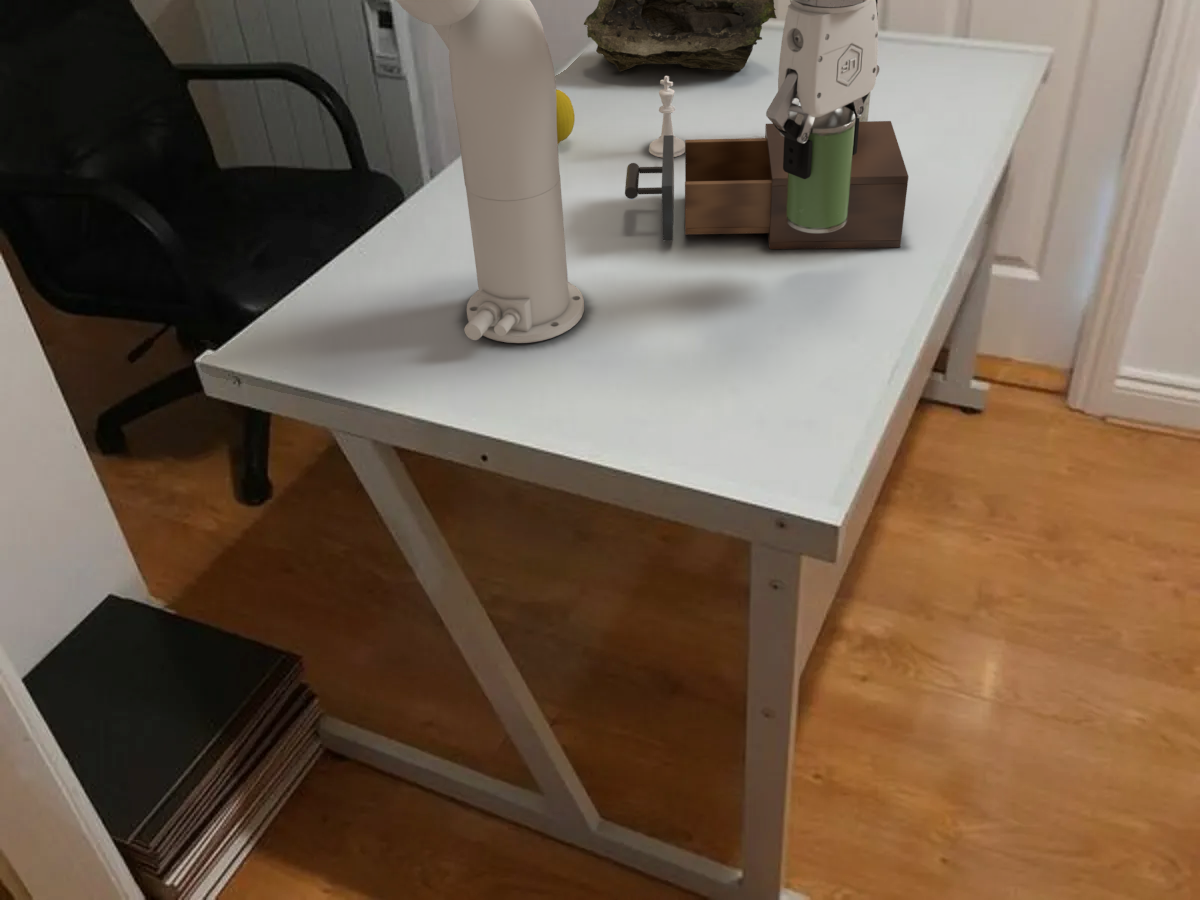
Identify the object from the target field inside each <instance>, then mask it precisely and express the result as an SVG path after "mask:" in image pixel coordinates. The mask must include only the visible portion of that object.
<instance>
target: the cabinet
mask: <svg viewBox="0 0 1200 900" xmlns="http://www.w3.org/2000/svg"><path fill="white" fill-rule="evenodd" d="M764 129H765V131H764V138H766V140H767V148H768V157H769V165H770V173H771V182H772V183H771V206H770V229H769V233H767V241H768V249H769V250H804V249H805V250H807V249H810V250H811V249H812V250H813V249H816V250H817V249H873V248H874V249H877V248H878V249H879V248H880V249H881V248H882V249H883V248H884V249H886V248H901V244H902V236H903V228H904V227H903V226H904V219H905V211H906V210H905V209H906V201H907V192H908V183H909V174H908V170H907V167H906V164H905V161H904V157H903V155H902V151H901V149H900V145H899V142H898V138H897V135H896V133H895V130H894V126H893V123H892V121H891V120H877V121H875V120H873V121H869V120H868V121H867V122H859V131H858V144H857V153H856V154H855V155H853V156H852V167H851V180H850V192H849V205H848V217H847V222H846V224H845V225H844V226H843V227H842V228H840V229H838V230H836V231H833V232H829V233H807V232H802V231H799V230H796V229H794V228H793V227H791V226H790V225H789V224H788V223H787V221H786V206H787V184H788V173H787V172H785V171H784V170H783V155H784V137H783V136H781V135H780V131H779V130H778V129H777V128H776V127H775V125H774V124H773V123H765V127H764Z"/></svg>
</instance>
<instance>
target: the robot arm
mask: <svg viewBox="0 0 1200 900" xmlns="http://www.w3.org/2000/svg"><path fill="white" fill-rule="evenodd" d="M395 1H396V2H397V3H398V4H399V6H400V7H401V8H402V9H403V10H404V11H405V12H407V13H408V14H409V15H410V16H411V17H413V18H415V19H417V20H419V21H420V22H421V23H425V24H428V25H431V26H432V27H433V29H434V30H435V32H436V33H437V34H438V36H439V37H440V38H441V40H442V41H443V43H444V44H445V46H446V47H447V49H448V59H449V60H448V61H449V72H450V73H449V74H450V84H451V85H450V86H451V93H452V100H453V101H452V102H453V107H454V113H455V121H456V128H457V133H458V142H459V149H460V156H461V157H460V158H461V163H462V166H461V167H462V173H463V181H464V185H465V192H466V199H467V200H466V201H467V208H468V209H467V210H468V216H469V222H470V223H469V224H470V231H471V238H472V246H473V247H472V248H473V254H474V264H475V271H476V279H477V287H478V290H476V291H475V292H474V293H473V294H472V295H471V296H470V298H469V299H468V301H467V304H466V317H467V321H468V322H467V323H466V325H464V333H465V335H466V337H467V338H468V339H470V340H472V341H479V340H480V339H481V338H482V337H485V338H487V339H490V340H493V341H497V342H500V343H501V342H502V343H503V342H504V343H508V344H530V343H537V342H543V341H546V340H549V339H552V338H555V337H558V336H560V335H562V334H564V333H566V332H568V331H569V330H571V329H572V328H573V327H574V326H576V325H577V324H578V323H579V322H580V321H581V319H582V318H583V315H584V313H585V301H584V296H583V293H582V292H581V290H580V289H579V288H578V287H577V286H576V285H574V284H572V283H571V282H570V281H569V278H568V265H567V264H568V263H567V251H566V250H567V249H566V237H565V223H564V210H563V195H562V182H561V175H560V161H559V160H560V159H559V146H558V145H559V144H558V143H557V120H556V89H557V84H556V82H557V81H556V75H555V68H554V62H553V58H552V54H551V51H550V46H549V43H548V41H547V37H546V34H545V31H544V27H543V24H542V21H541V18H540V16H539V14H538V12H537V10H536V8H535V6H534V4H533V3H532V1H531V0H395ZM789 2H790V4H789V5H787V9H786V15H785V19H784V25H783V31H782V36H781V37H782V38H781V45H780V53H779V60H778V61H779V63H778V77H777V78H778V79H777V93H776V94H775V96H774V97H773V99H772V101H771V103H770V104H769V106H768V108H767V109H766V112H765V116H766V117H767V119H768V120H769V121H770V122H771V124H774V125H775V127H776V128H777V129H778V130H779V131H780V135H781V136H783V137H784V155H783V170H784V171H785V172H787V173H790V174H792V175H795V176H797V177H800V178H802V179H807V178H809V177H810V175H811V162H812V145H813V143H812V141H811V140H808V138H809V135H810V132H811V128H812V125H813V122H814V119H815V117H821V116H823V115H826V114H828V113H830V112H832V111H835V110H837V109H839V108H841V107H843V106H844V107H847V108H849V109H851V110H852V111H853V112H854V113H855V116H856V117H855V130H854V142H853V155H855V154H856V153H857V144H858V131H859V119H860V118H857V117H860V116H861V115H862V114H863V112H864V102H865V100H866V98H867V97H868V95H869V93H870V92H872V91H873V90H874V89H875V86H876V81H877V76H878V75H879V73H880V66H879V65H878V55H879V54H878V51H879V22H878V20H879V19H877V12H878V6H877V7H876V0H789ZM870 94H871V93H870ZM797 113H799V114H802V115H804V116H803V119H802V122H801V125H800V126H799V125H798V124H797V123H796V122H795V119H796V116H797ZM853 155H852V156H853Z"/></svg>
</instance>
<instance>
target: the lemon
mask: <svg viewBox="0 0 1200 900" xmlns="http://www.w3.org/2000/svg"><path fill="white" fill-rule="evenodd" d="M556 120H557V143H558V145H559V144H560V143H561V142H563V141H565V140H566V139H568V138H569V136H570V135H571V134H572V132H573V129H574V126H575V121H576V116H575V109H574V106H573V103H572V101H571V98H570V97H569V96H568V95H567V94H566V92H565V91H562V90H561V89H557V88H556Z"/></svg>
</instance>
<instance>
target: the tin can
mask: <svg viewBox="0 0 1200 900" xmlns="http://www.w3.org/2000/svg"><path fill="white" fill-rule="evenodd" d="M803 116H804V115H802V114H799V113H797V116H796V119H795V122H796V123H797V124H798V125H799V126H800V125H801V122H802V119H803ZM855 117H856V116H855V113H854V112H853V111H852V110H851V109H849V108H847V107H844V106H843V107H841V108H839V109H837V110H835V111H832V112H830V113H828V114H826V115H823V116H821V117H815V119H814V122H813V125H812V128H811V132H810V135H809V138H808V140H811V141H812V143H813V145H812V162H811V175H810V177H809V178H807V179H802V178H800V177H797V176H795V175H792V174H790V173H788V184H787V206H786V221H787V223H788V224H789V225H790V226H791V227H793V228H794V229H796V230H799V231H802V232H807V233H829V232H833V231H836V230H838V229H840V228H842V227H843V226H844V225H845V224H846V222H847V217H848V205H849V192H850V180H851V167H852V155H853V142H854V130H855Z"/></svg>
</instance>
